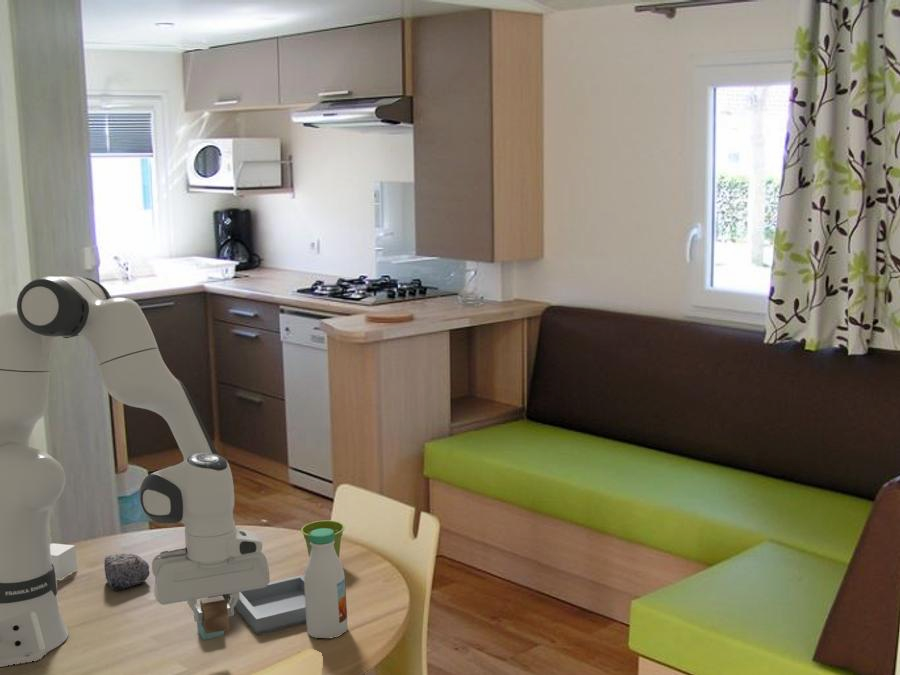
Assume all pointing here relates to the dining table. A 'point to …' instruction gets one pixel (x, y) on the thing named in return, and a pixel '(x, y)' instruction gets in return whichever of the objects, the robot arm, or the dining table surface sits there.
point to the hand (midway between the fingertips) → (214, 617)
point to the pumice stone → (125, 570)
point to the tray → (274, 605)
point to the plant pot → (328, 524)
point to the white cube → (63, 559)
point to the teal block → (208, 635)
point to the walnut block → (214, 614)
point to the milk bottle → (324, 587)
